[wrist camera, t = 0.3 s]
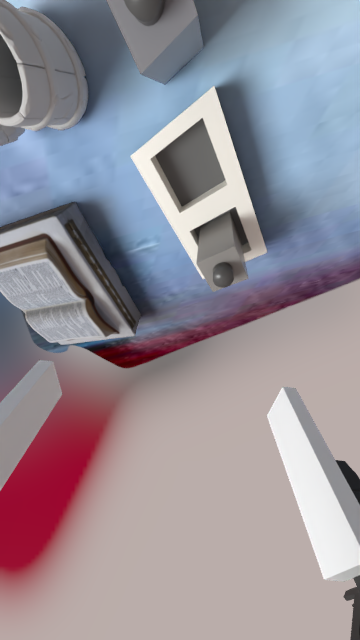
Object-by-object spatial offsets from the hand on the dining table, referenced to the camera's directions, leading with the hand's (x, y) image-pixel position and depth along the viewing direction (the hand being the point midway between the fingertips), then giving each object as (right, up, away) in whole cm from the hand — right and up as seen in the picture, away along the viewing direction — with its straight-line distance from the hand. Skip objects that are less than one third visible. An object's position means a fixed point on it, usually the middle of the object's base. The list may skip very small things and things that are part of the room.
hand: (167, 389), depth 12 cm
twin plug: (+7, +17, +18) cm, 25 cm away
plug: (0, +30, +7) cm, 31 cm away
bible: (-20, +13, +29) cm, 37 cm away
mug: (-14, +29, +11) cm, 34 cm away
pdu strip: (+4, +20, +16) cm, 26 cm away
